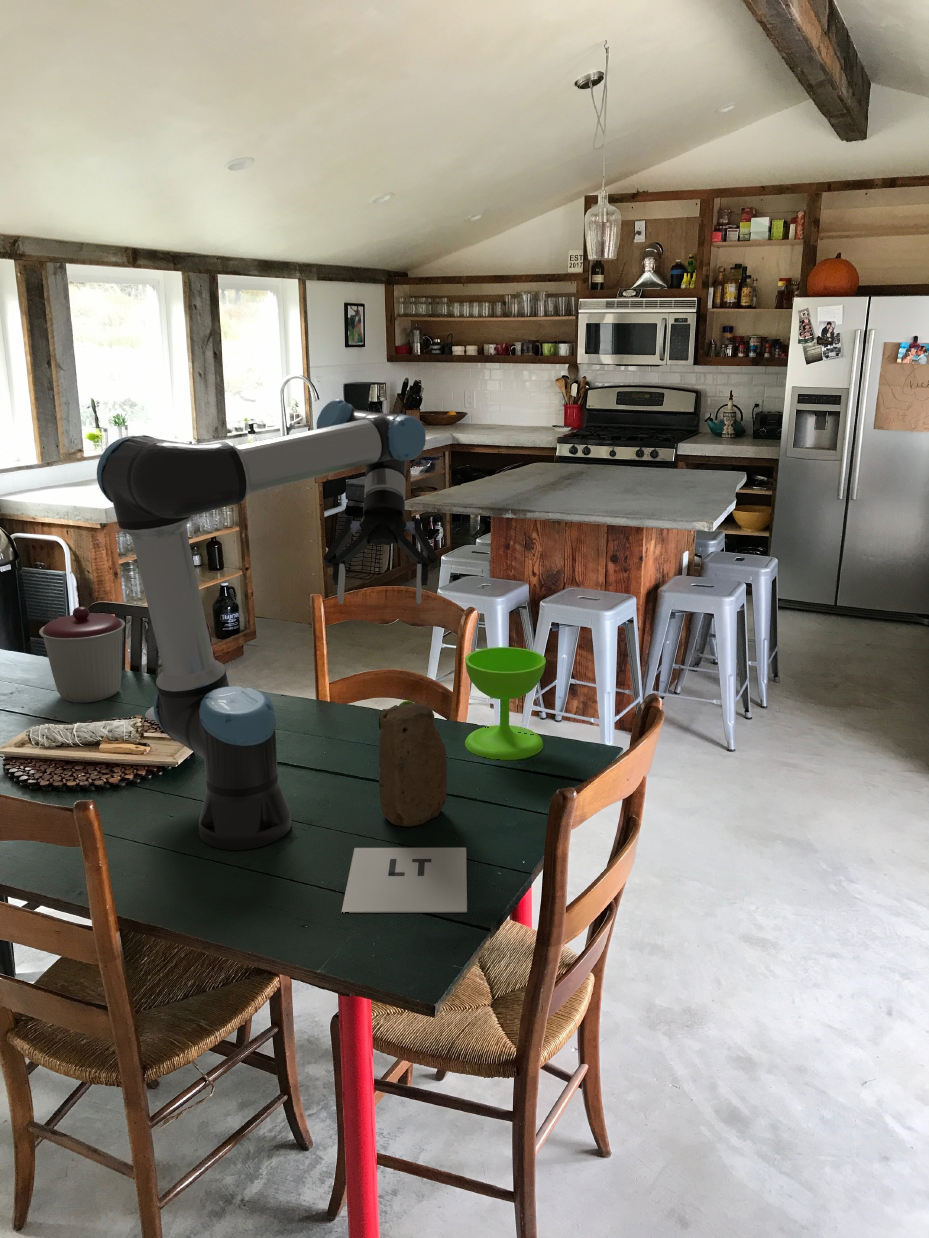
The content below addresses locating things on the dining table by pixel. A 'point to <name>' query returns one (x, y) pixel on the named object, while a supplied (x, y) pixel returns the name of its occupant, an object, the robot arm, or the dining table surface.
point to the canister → (85, 654)
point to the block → (411, 765)
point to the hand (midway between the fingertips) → (379, 600)
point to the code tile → (407, 881)
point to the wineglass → (504, 699)
